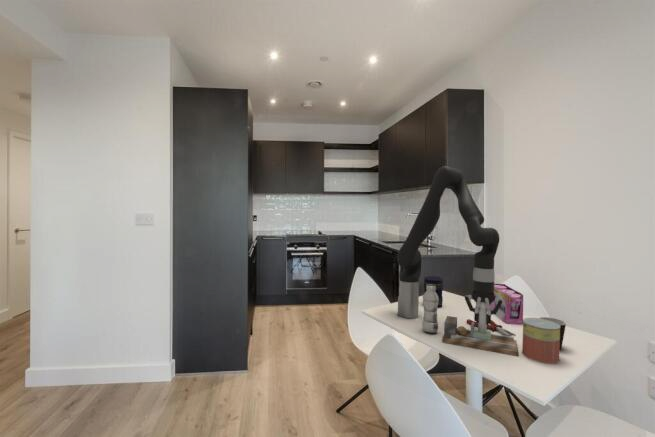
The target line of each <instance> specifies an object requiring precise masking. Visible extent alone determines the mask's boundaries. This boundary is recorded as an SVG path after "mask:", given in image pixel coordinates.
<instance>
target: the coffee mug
mask: <svg viewBox="0 0 655 437" xmlns="http://www.w3.org/2000/svg"><path fill="white" fill-rule="evenodd" d="M539 319H545V320H549V321H552V322H555V323H557V324H559V325H560V326H561V328H560V349H559V351H561V350H562V346H563V342H564V336H565V331H566V324H567V323H566V321H564V320H563V319H559V318H555V317H548V316H547V317H546V316H542V317H541V316H540V317H539Z"/></svg>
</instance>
